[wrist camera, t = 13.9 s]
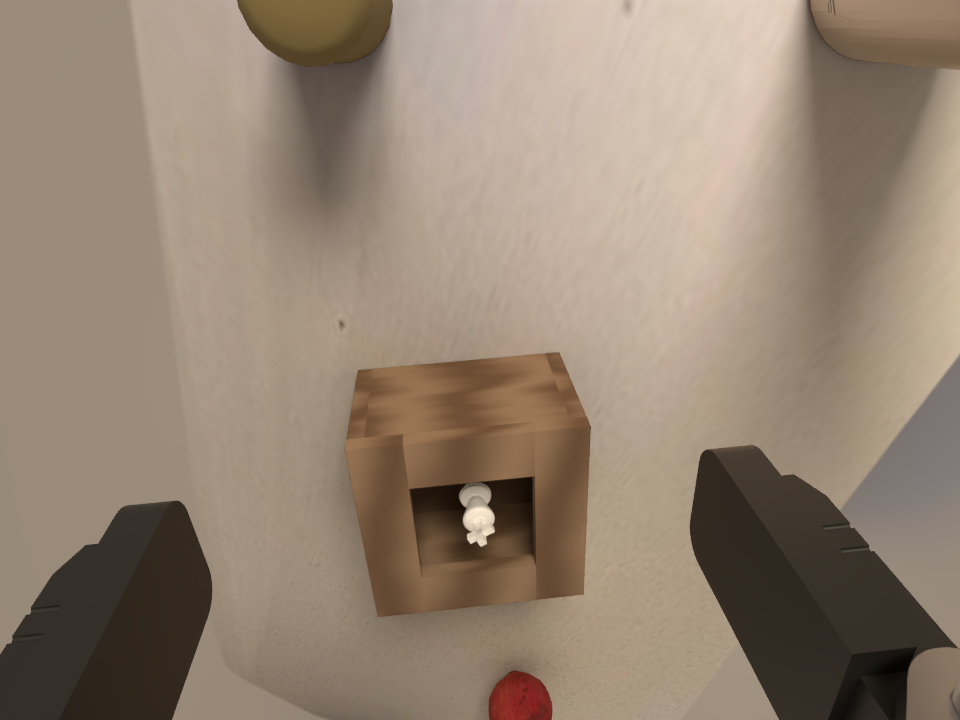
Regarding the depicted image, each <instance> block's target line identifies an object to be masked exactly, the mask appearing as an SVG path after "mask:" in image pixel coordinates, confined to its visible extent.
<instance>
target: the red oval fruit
mask: <svg viewBox="0 0 960 720" xmlns="http://www.w3.org/2000/svg"><path fill="white" fill-rule="evenodd" d="M489 719H490V720H551V719H552V702H551V699H550V696H549V694H548V691H547V689H546V687H545V686H544V685H543V683H542V682H541V681H540V680H539V679H537V678H535V677H534V676H532V675H530V674H528V673H524V672H519V671H511V672H510V673H509V674H508V675H507V676H506V677H504V678H503V679H502V680H500V682H499V683H498V684H497V685H496V686H495V688H494V689H493V691H492V693H491V696H490V698H489Z"/></svg>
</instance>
